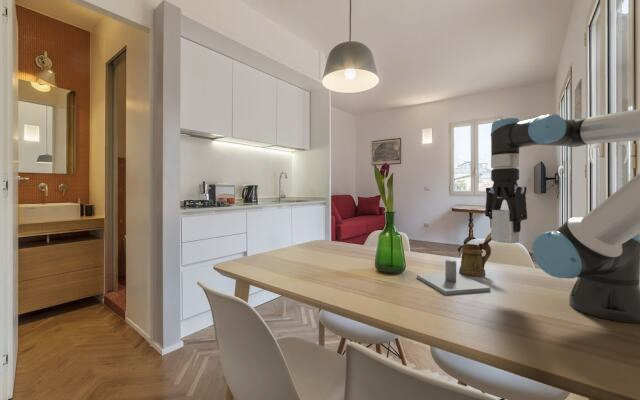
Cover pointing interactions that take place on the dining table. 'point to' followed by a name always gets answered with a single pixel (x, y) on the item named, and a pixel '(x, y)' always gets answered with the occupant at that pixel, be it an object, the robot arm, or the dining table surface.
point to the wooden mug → (475, 258)
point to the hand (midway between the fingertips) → (504, 240)
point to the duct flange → (452, 281)
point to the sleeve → (500, 225)
